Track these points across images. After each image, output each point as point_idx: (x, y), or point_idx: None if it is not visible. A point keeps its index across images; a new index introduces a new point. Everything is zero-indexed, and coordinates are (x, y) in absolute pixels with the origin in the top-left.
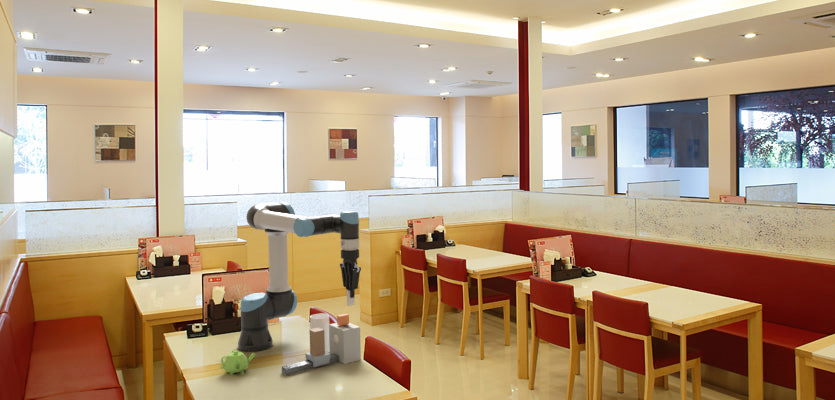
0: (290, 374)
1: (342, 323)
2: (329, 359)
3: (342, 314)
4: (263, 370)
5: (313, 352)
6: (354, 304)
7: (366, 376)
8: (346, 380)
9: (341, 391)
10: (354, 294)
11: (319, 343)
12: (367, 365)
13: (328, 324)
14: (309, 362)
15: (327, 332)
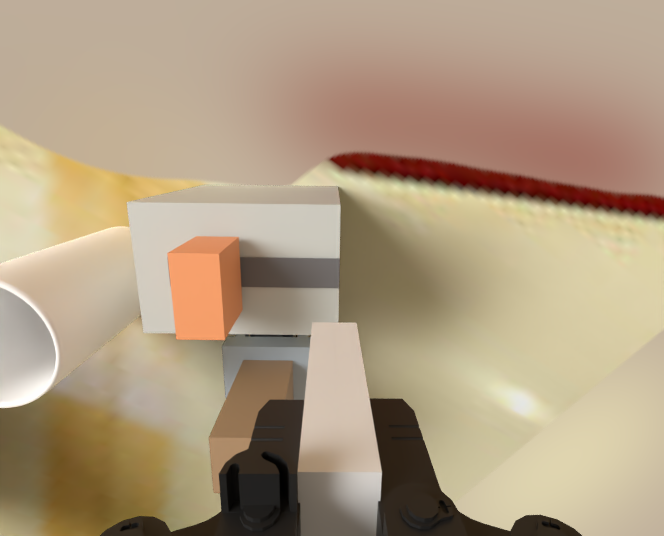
0: None
1: (238, 296)
2: None
3: (180, 293)
4: (200, 506)
5: None
6: (356, 324)
7: (514, 277)
8: (487, 353)
9: (552, 412)
10: (420, 434)
11: None
12: (419, 204)
13: (76, 286)
14: None
15: (113, 283)
